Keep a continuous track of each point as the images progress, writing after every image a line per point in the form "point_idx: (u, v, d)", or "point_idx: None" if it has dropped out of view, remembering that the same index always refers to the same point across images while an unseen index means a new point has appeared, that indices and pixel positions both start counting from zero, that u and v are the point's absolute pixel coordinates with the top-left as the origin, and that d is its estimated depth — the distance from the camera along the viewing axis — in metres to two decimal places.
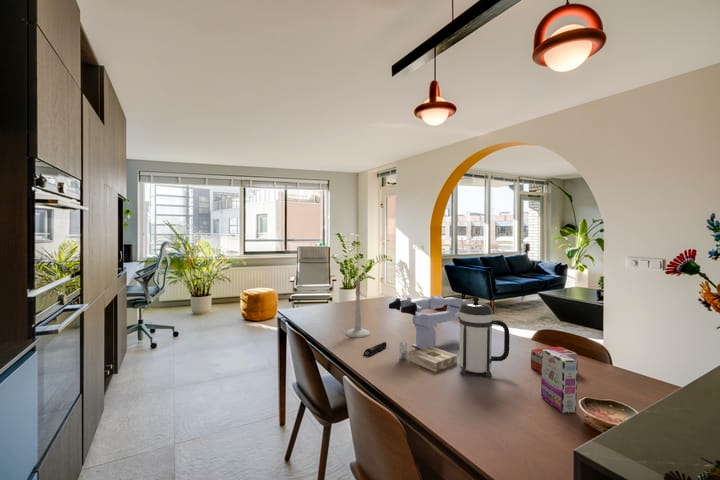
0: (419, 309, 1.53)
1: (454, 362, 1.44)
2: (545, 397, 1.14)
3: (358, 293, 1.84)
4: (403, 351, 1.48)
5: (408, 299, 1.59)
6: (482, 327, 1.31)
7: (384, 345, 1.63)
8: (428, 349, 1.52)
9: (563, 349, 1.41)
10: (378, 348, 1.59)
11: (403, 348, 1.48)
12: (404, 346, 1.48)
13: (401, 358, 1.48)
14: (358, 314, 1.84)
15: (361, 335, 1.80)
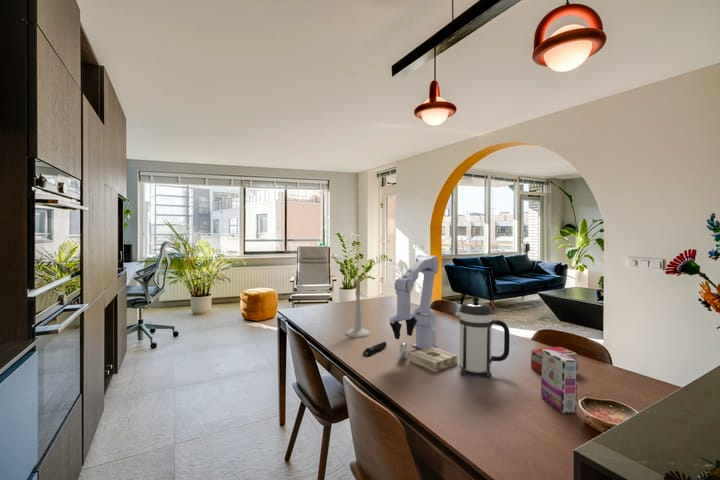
0: None
1: (454, 362, 1.44)
2: (545, 397, 1.14)
3: (358, 293, 1.84)
4: (403, 351, 1.48)
5: (408, 319, 1.46)
6: (482, 327, 1.31)
7: (384, 345, 1.63)
8: (428, 349, 1.52)
9: (563, 349, 1.40)
10: (378, 348, 1.59)
11: (403, 348, 1.48)
12: (404, 346, 1.48)
13: (401, 358, 1.48)
14: (358, 314, 1.84)
15: (361, 335, 1.80)
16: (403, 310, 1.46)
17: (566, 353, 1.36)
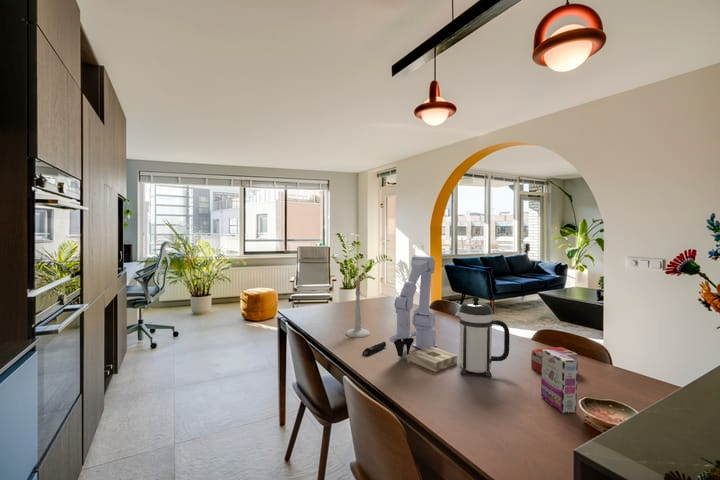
0: None
1: (454, 362, 1.44)
2: (545, 397, 1.14)
3: (358, 293, 1.84)
4: (403, 351, 1.48)
5: (408, 337, 1.46)
6: (482, 327, 1.31)
7: (383, 345, 1.63)
8: (428, 349, 1.52)
9: (564, 349, 1.40)
10: (377, 348, 1.59)
11: (403, 348, 1.48)
12: (404, 346, 1.48)
13: (401, 358, 1.48)
14: (358, 314, 1.84)
15: (361, 335, 1.80)
16: (403, 329, 1.46)
17: (566, 353, 1.36)
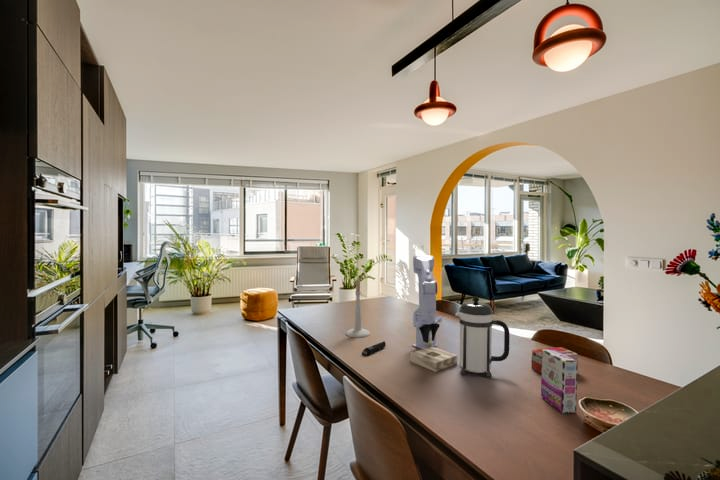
0: None
1: (454, 362, 1.44)
2: (545, 397, 1.14)
3: (358, 293, 1.84)
4: (429, 337, 1.45)
5: (434, 323, 1.44)
6: (482, 327, 1.31)
7: (383, 344, 1.63)
8: (428, 349, 1.52)
9: (564, 349, 1.40)
10: (377, 347, 1.59)
11: (429, 334, 1.45)
12: (430, 332, 1.45)
13: (427, 344, 1.45)
14: (358, 314, 1.84)
15: (361, 335, 1.80)
16: (429, 314, 1.43)
17: (567, 353, 1.36)
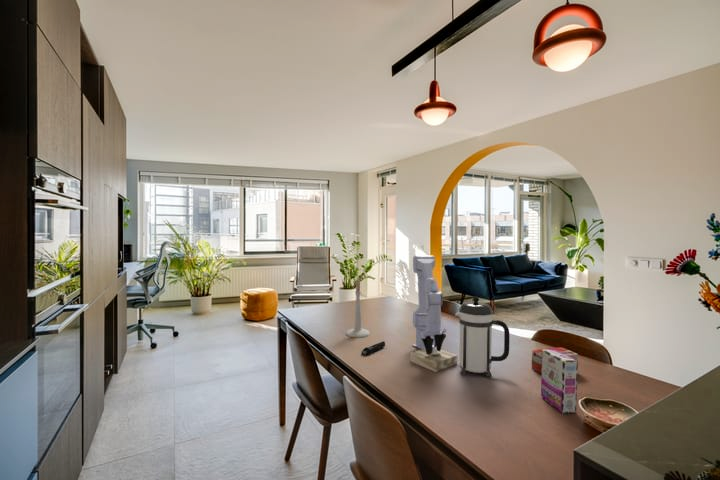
0: None
1: (454, 362, 1.44)
2: (545, 397, 1.14)
3: (358, 293, 1.84)
4: (434, 353, 1.45)
5: (439, 334, 1.44)
6: (482, 327, 1.31)
7: (383, 344, 1.64)
8: None
9: (564, 350, 1.40)
10: (376, 347, 1.59)
11: (434, 351, 1.45)
12: (435, 348, 1.45)
13: None
14: (358, 314, 1.84)
15: (361, 335, 1.80)
16: (434, 325, 1.43)
17: (567, 353, 1.36)
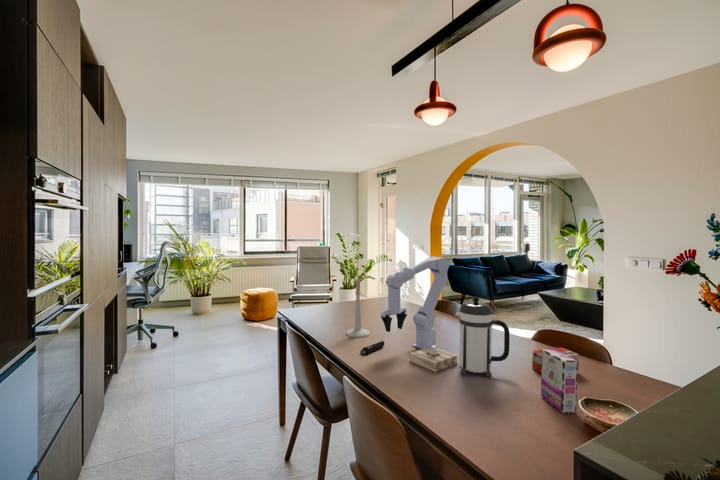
0: None
1: (454, 362, 1.44)
2: (545, 397, 1.14)
3: (358, 293, 1.84)
4: (434, 353, 1.45)
5: None
6: (482, 327, 1.31)
7: (382, 344, 1.64)
8: (428, 349, 1.52)
9: (565, 350, 1.39)
10: (375, 347, 1.60)
11: (434, 351, 1.45)
12: (435, 348, 1.45)
13: None
14: (358, 314, 1.84)
15: (361, 335, 1.80)
16: (393, 305, 1.56)
17: (568, 354, 1.35)
